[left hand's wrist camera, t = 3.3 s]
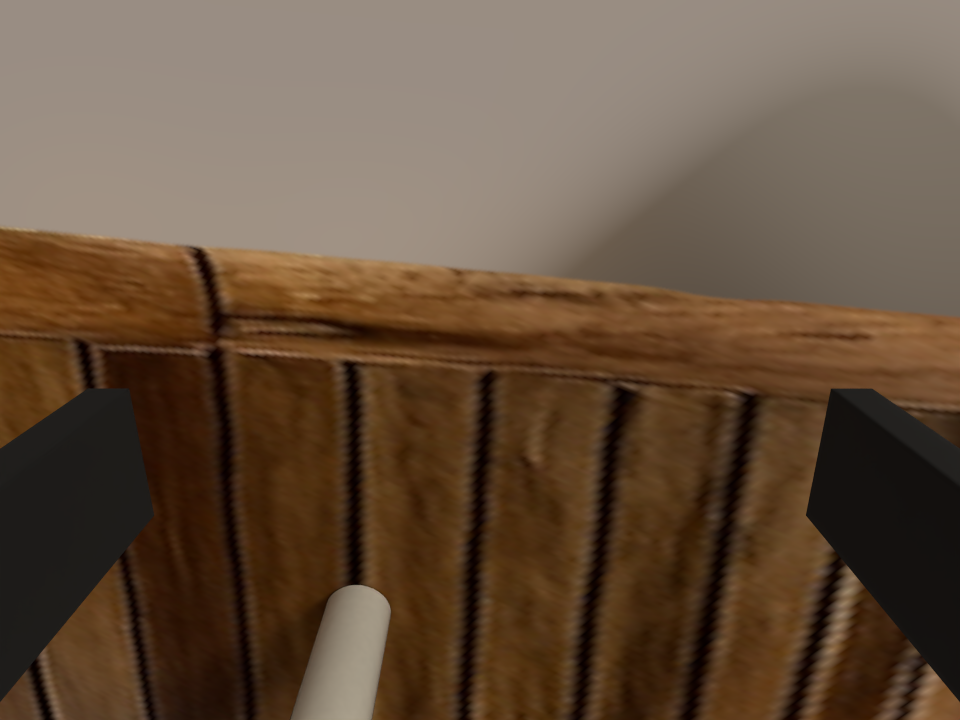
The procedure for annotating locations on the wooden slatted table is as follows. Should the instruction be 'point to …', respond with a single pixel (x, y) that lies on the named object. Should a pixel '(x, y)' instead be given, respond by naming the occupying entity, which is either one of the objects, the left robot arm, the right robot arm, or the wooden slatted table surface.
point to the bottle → (345, 657)
